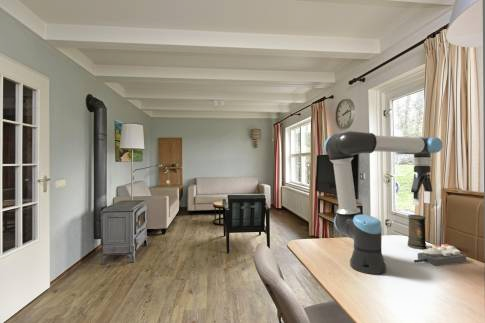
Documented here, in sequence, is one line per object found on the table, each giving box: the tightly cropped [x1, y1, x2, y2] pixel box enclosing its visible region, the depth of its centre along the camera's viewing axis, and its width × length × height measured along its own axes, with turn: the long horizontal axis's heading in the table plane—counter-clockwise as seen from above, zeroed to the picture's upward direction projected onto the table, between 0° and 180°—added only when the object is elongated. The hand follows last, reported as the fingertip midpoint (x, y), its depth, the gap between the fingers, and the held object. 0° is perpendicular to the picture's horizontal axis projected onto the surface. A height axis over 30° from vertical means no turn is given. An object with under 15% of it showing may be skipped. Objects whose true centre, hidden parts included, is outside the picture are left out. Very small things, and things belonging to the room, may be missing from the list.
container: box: [407, 214, 428, 250], centre depth 145 cm, size 9×9×18 cm
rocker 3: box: [440, 243, 461, 255], centre depth 126 cm, size 4×7×3 cm, turn 15°
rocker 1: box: [422, 247, 442, 255], centre depth 123 cm, size 4×7×3 cm, turn 15°
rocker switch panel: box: [413, 252, 467, 267], centre depth 124 cm, size 27×9×3 cm, turn 105°
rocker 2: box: [431, 244, 452, 256], centre depth 125 cm, size 4×7×3 cm, turn 15°
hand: (421, 204), depth 137 cm, fingers open, 13 cm apart
